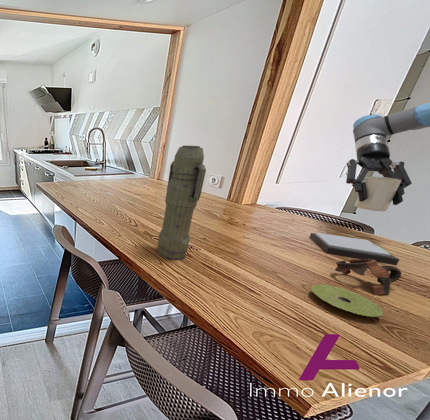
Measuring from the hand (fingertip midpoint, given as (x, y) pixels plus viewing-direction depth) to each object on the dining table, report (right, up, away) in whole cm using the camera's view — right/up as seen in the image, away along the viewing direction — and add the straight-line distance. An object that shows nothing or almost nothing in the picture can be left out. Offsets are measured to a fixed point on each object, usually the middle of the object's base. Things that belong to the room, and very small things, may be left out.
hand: (380, 201), depth 84 cm
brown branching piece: (-29, -24, -18) cm, 41 cm away
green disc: (-45, -26, -26) cm, 58 cm away
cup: (+2, -2, +4) cm, 5 cm away
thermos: (-74, -18, -3) cm, 77 cm away
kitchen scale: (-10, -17, +1) cm, 20 cm away
